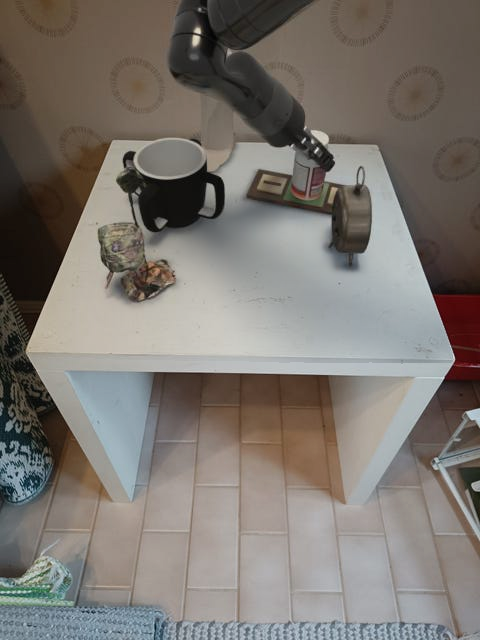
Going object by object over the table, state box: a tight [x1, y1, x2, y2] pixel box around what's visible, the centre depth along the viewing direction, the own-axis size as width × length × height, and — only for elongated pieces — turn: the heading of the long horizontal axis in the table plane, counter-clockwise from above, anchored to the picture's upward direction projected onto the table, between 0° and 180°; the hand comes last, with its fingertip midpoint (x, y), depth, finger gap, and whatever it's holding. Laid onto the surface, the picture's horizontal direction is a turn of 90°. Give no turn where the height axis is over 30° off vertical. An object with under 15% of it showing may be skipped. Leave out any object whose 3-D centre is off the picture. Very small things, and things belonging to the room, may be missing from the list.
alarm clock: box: [328, 165, 373, 267], centre depth 69 cm, size 11×5×16 cm, turn 179°
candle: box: [199, 48, 235, 173], centre depth 85 cm, size 7×14×20 cm, turn 167°
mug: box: [122, 137, 226, 234], centre depth 76 cm, size 16×16×12 cm
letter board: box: [246, 168, 347, 216], centre depth 84 cm, size 22×9×1 cm, turn 73°
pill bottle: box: [291, 129, 330, 201], centre depth 79 cm, size 6×6×11 cm
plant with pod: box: [94, 165, 177, 302], centre depth 63 cm, size 8×11×20 cm
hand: (318, 157), depth 79 cm, fingers open, 6 cm apart
